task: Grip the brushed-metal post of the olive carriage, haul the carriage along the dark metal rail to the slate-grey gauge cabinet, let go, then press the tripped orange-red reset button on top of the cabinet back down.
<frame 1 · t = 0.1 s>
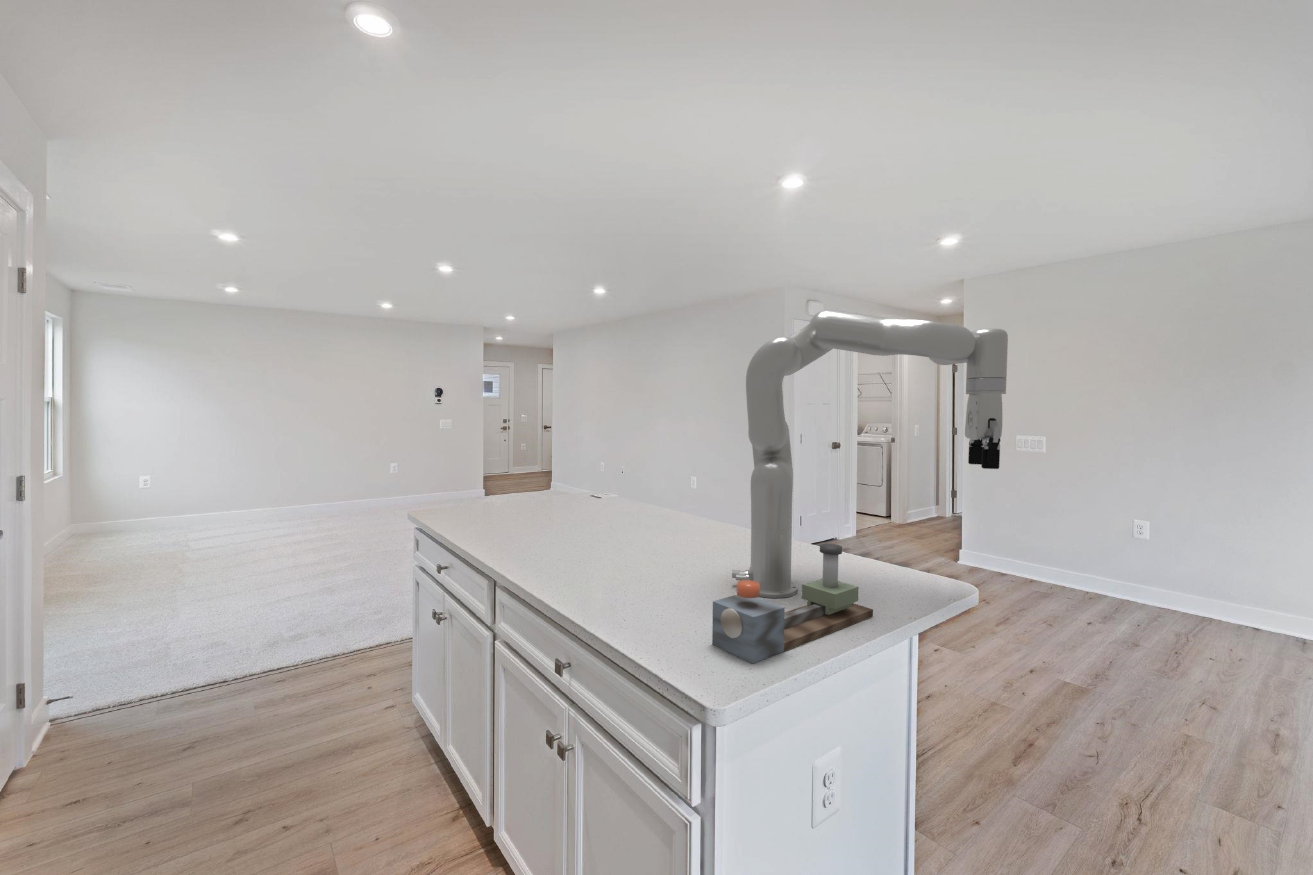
hand: (983, 466, 123), 31 cm above the worktop, tool pointing down, fingers open, 9 cm apart
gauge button: (748, 588, 102), point 11 cm above the worktop, slide at 1.5 cm
carriage: (830, 576, 117), point 9 cm above the worktop, slide at 14.0 cm
rail stand: (808, 625, 113), on the worktop
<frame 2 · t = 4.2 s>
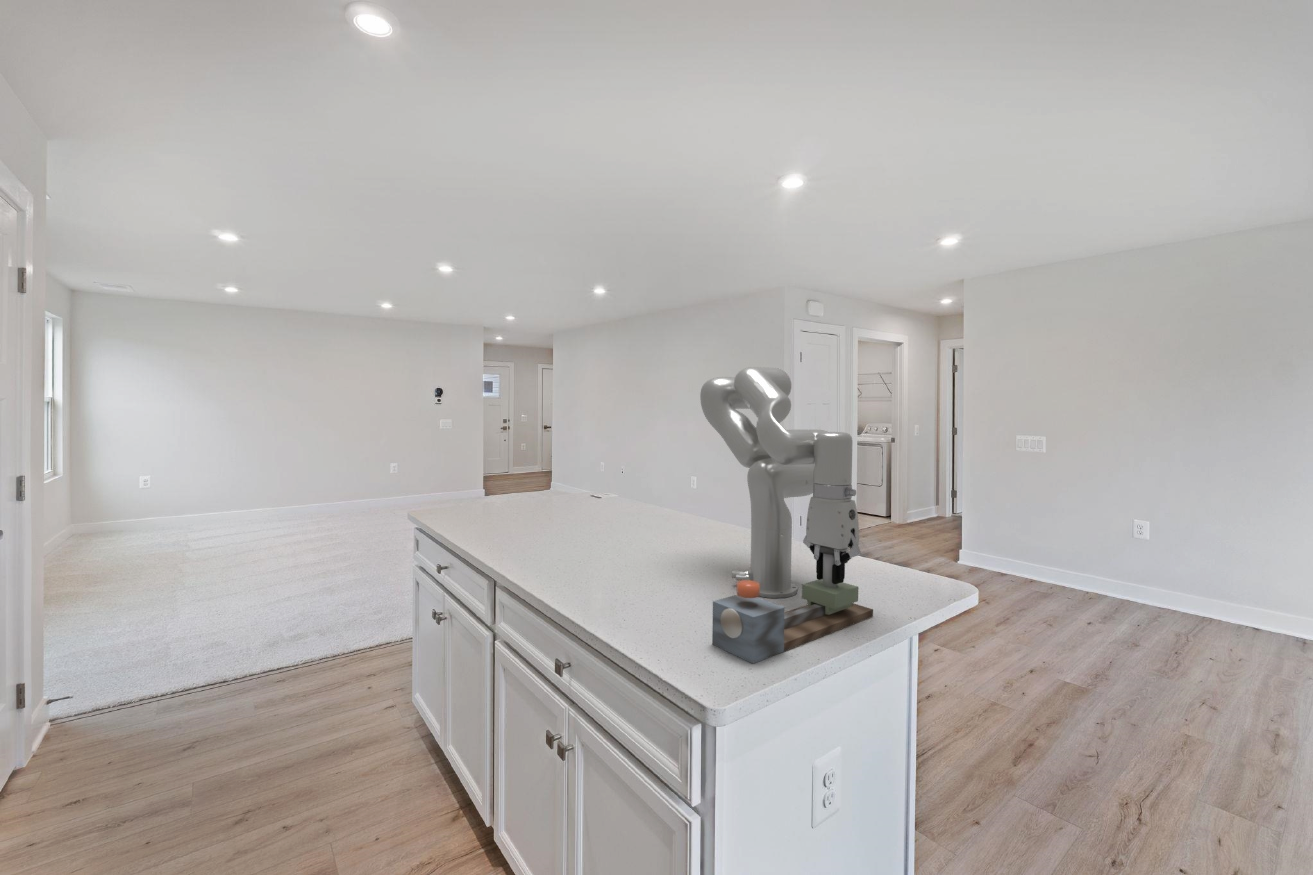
hand: (830, 579, 117), 8 cm above the worktop, tool pointing down, fingers closed on carriage, 3 cm apart
carriage: (830, 576, 117), point 9 cm above the worktop, slide at 14.0 cm, touching gripper
everything else where it was.
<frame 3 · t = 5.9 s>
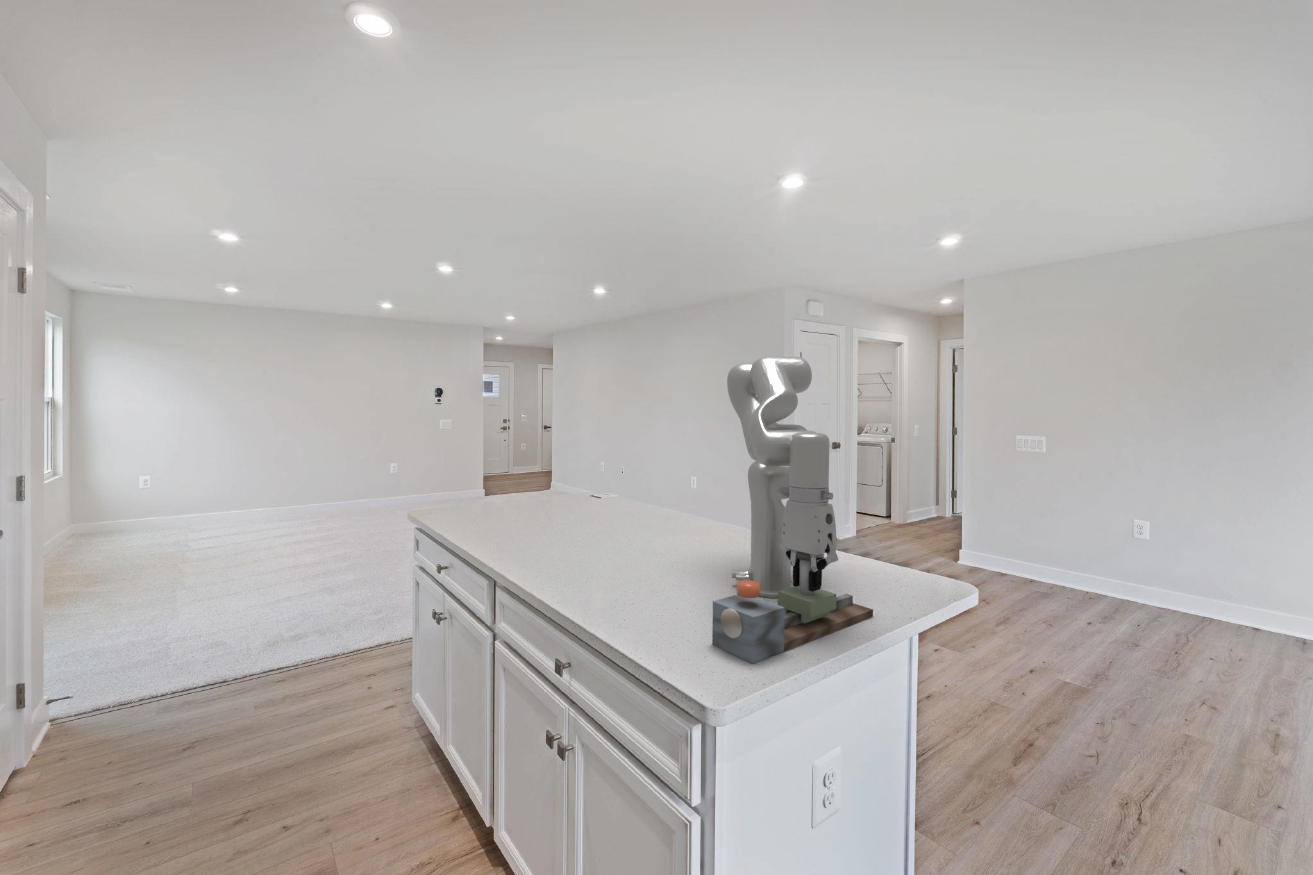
hand: (806, 586, 113), 8 cm above the worktop, tool pointing down, fingers closed on carriage, 3 cm apart
carriage: (807, 583, 113), point 9 cm above the worktop, slide at 6.4 cm, touching gripper
everything else where it was.
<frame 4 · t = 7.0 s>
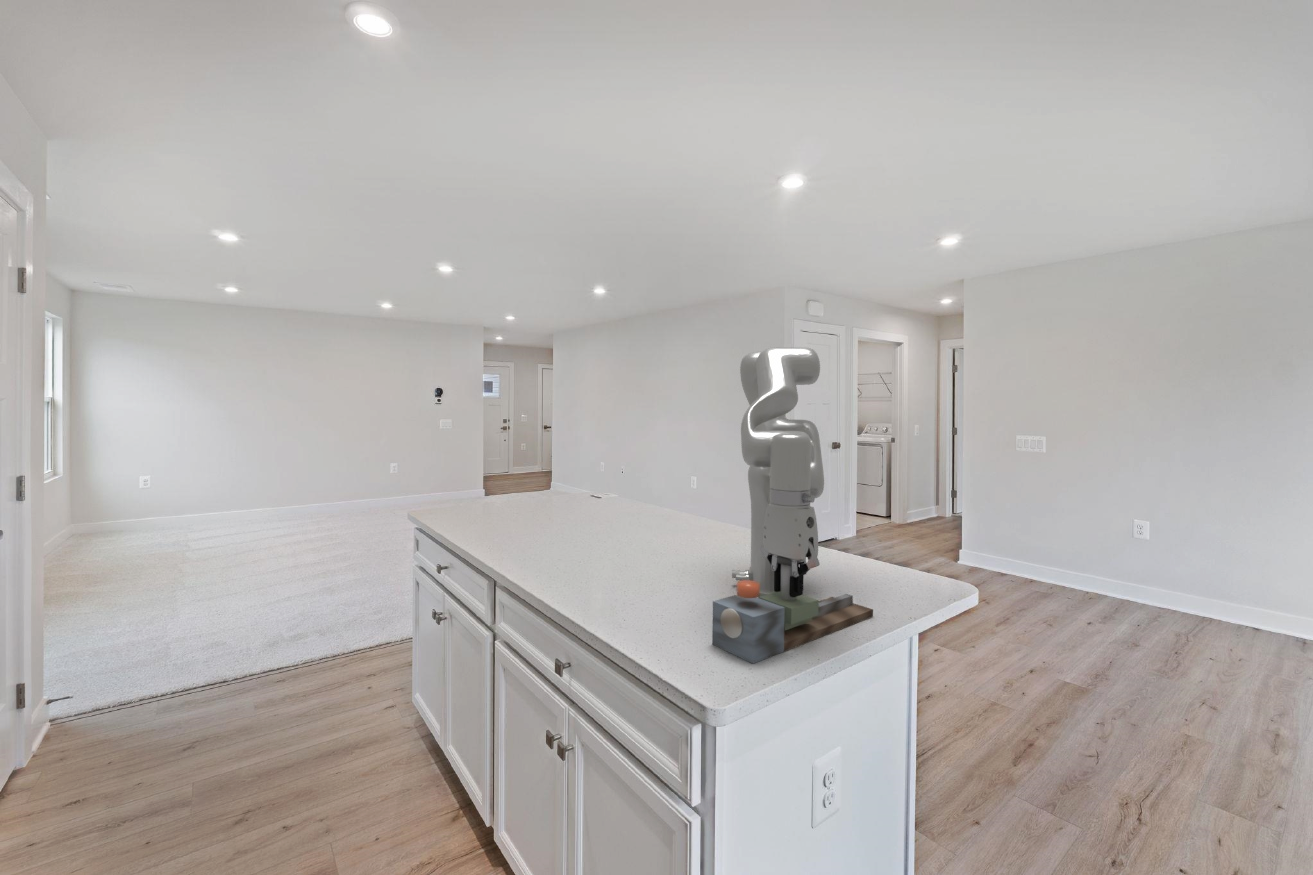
hand: (788, 592, 109), 8 cm above the worktop, tool pointing down, fingers closed on carriage, 3 cm apart
carriage: (788, 588, 109), point 9 cm above the worktop, slide at 0.7 cm, touching gripper
everything else where it was.
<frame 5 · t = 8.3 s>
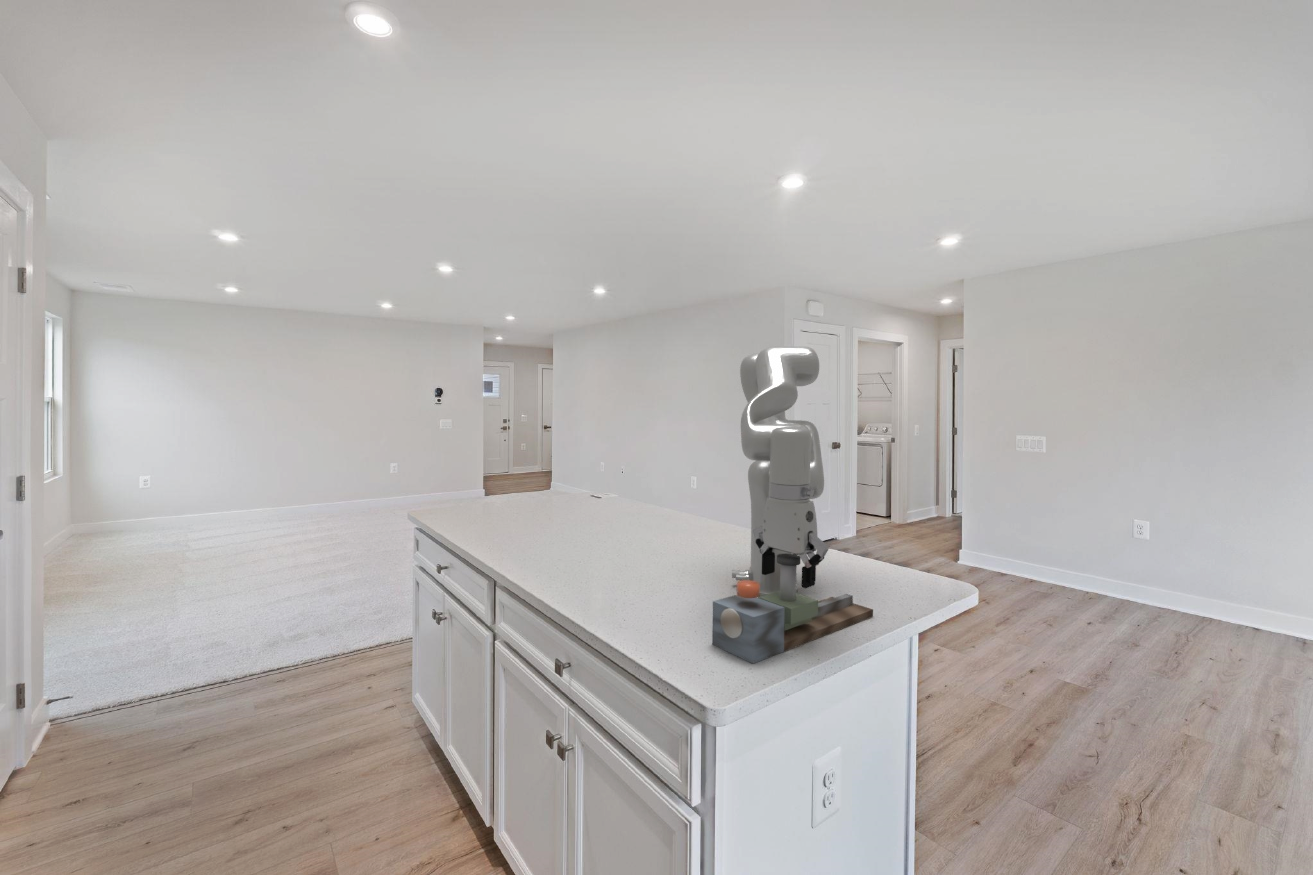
hand: (787, 579, 110), 10 cm above the worktop, tool pointing down, fingers open, 9 cm apart
carriage: (788, 589, 109), point 9 cm above the worktop, slide at 0.6 cm
everything else where it was.
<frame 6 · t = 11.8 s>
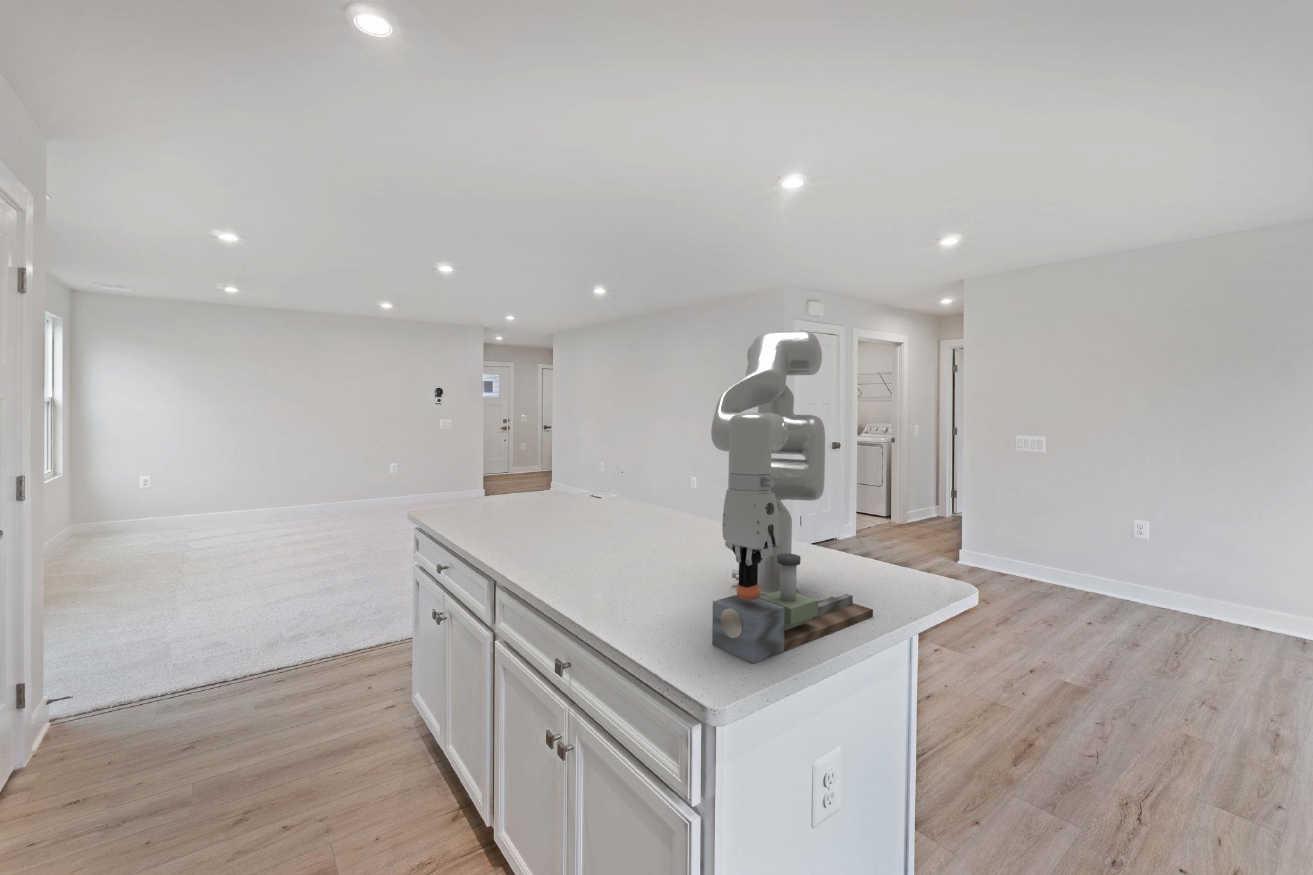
hand: (748, 584, 102), 12 cm above the worktop, tool pointing down, fingers closed
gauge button: (748, 590, 102), point 11 cm above the worktop, slide at 1.3 cm, touching gripper
everything else where it was.
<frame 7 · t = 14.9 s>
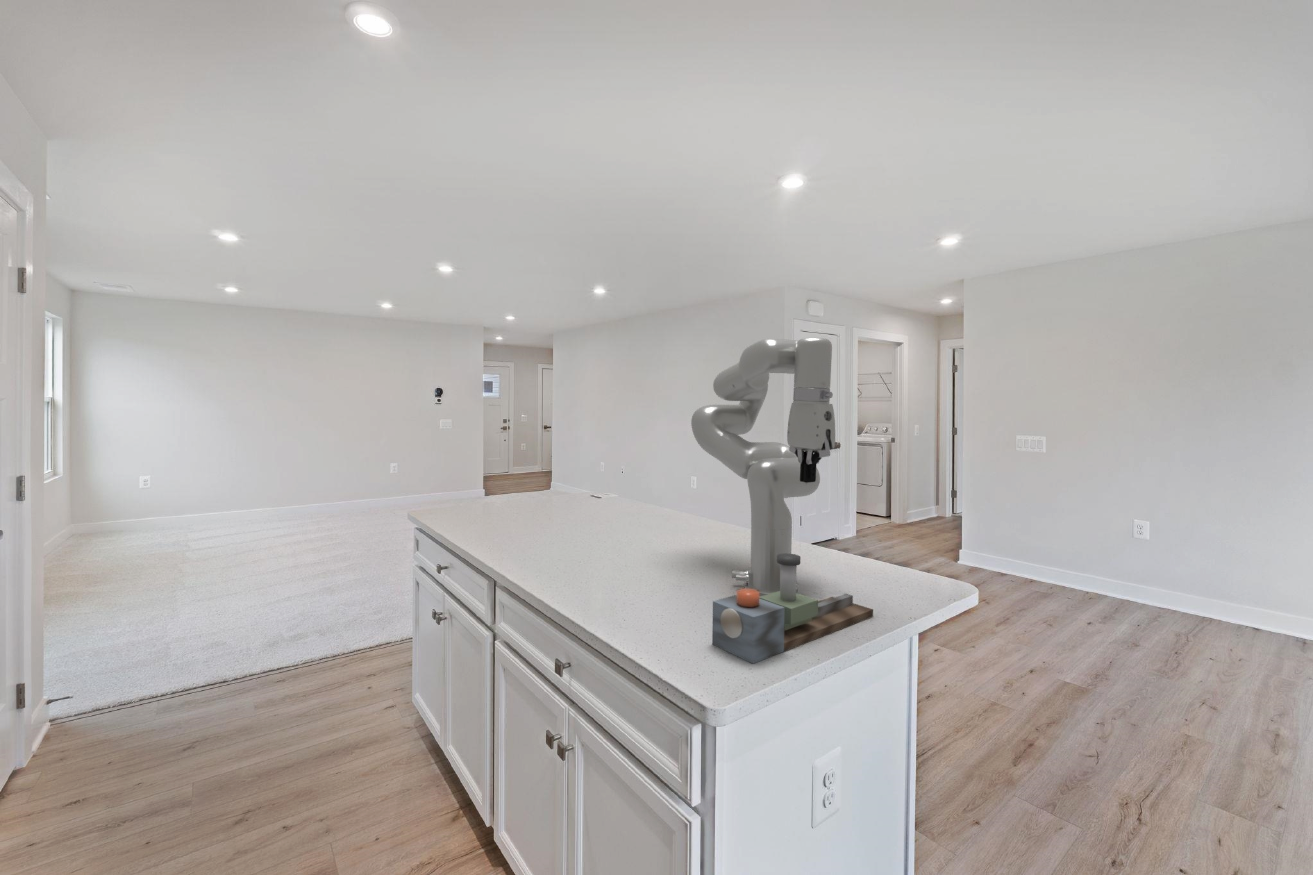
hand: (807, 481, 123), 28 cm above the worktop, tool pointing down, fingers closed
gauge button: (748, 597, 102), point 9 cm above the worktop, slide at -0.1 cm
everything else where it was.
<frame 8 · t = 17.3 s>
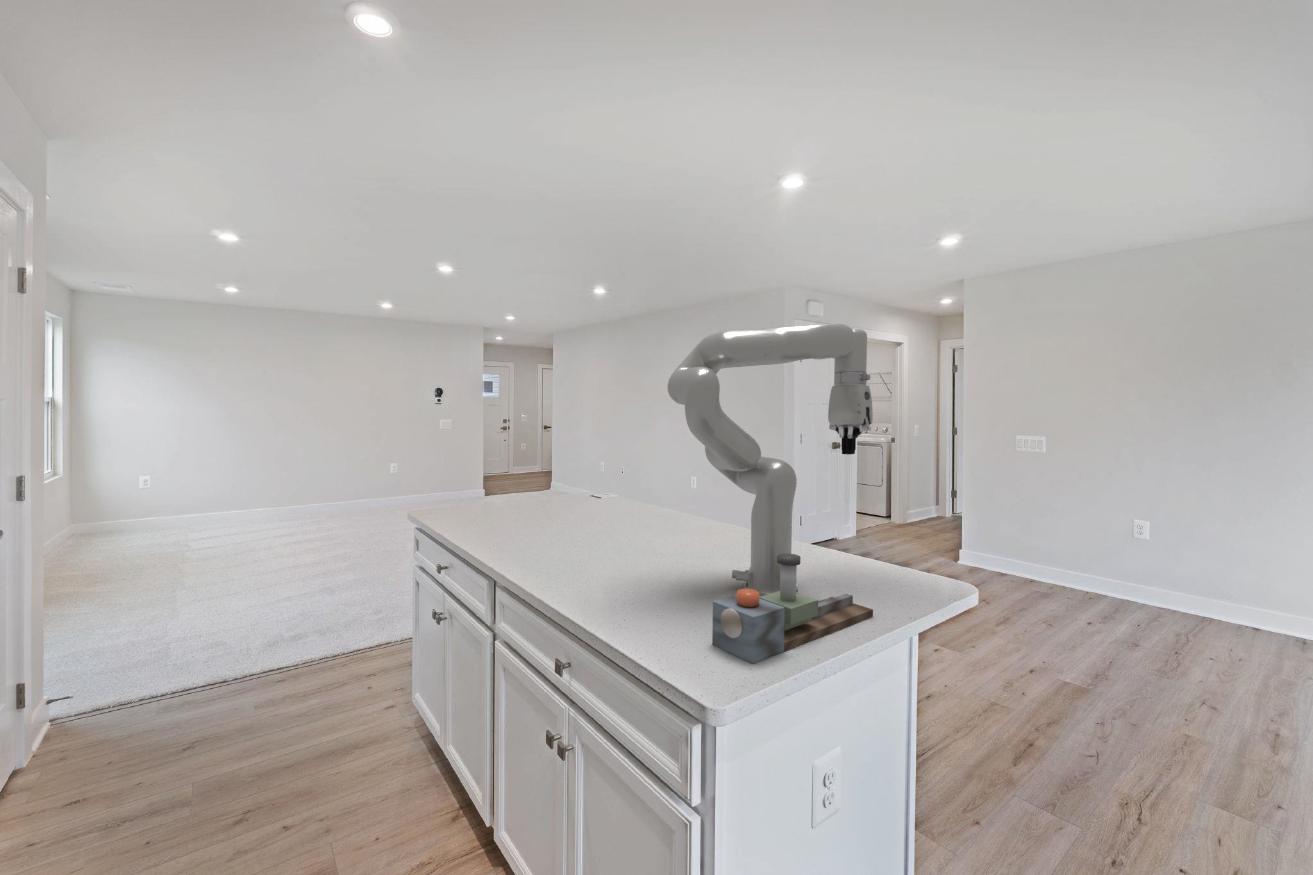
hand: (848, 453, 142), 32 cm above the worktop, tool pointing down, fingers closed
nothing on the worktop moved.
at the end: carriage slide at 0.6 cm; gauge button slide at -0.1 cm; the gripper is holding nothing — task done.
